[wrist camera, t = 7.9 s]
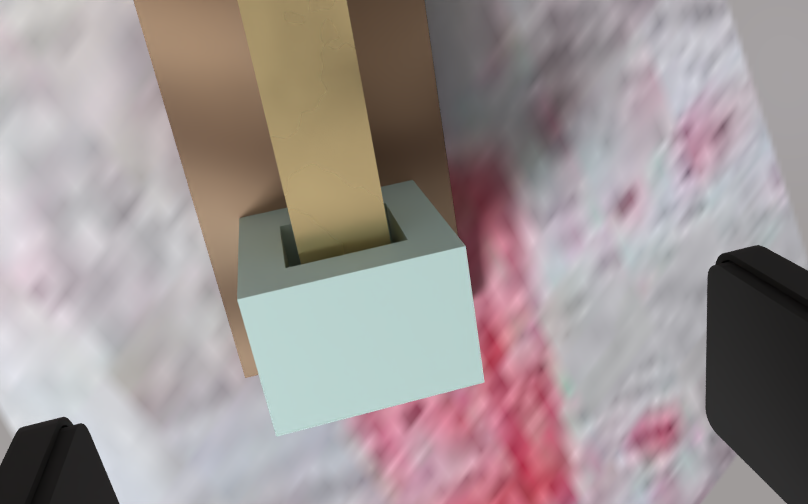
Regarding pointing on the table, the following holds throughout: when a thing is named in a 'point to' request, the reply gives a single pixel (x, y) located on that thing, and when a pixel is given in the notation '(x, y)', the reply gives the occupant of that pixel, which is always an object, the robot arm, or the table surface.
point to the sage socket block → (358, 316)
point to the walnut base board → (247, 127)
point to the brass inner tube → (317, 124)
